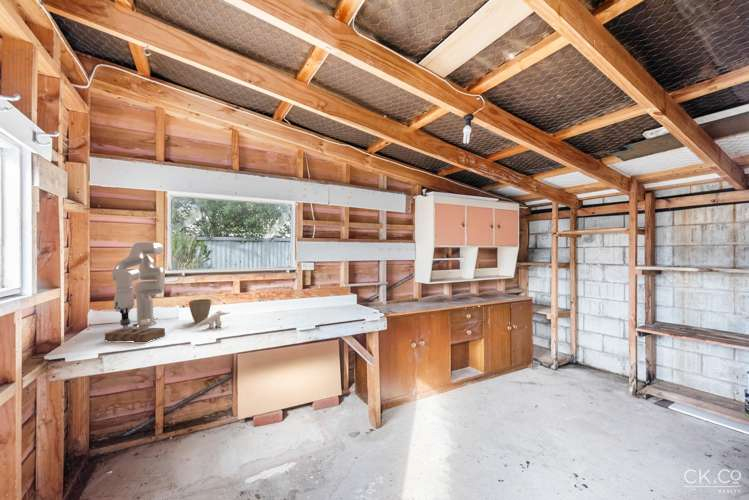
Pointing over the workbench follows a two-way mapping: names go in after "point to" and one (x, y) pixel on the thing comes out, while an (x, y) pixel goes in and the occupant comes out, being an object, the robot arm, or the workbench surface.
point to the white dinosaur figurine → (213, 319)
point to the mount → (135, 334)
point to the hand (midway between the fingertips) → (125, 319)
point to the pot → (135, 327)
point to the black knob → (125, 324)
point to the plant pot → (200, 309)
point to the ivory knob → (145, 324)
